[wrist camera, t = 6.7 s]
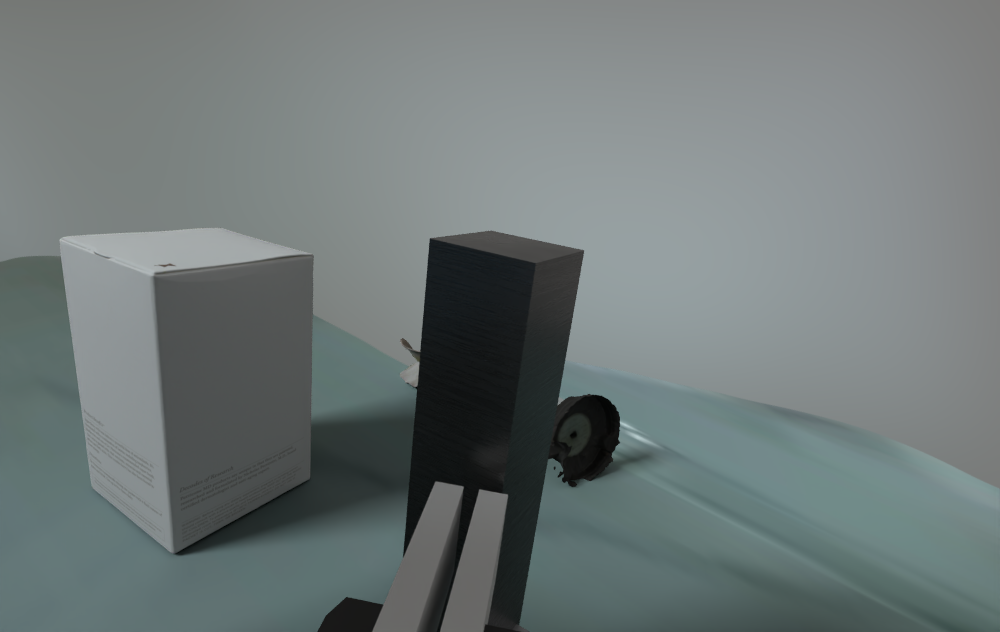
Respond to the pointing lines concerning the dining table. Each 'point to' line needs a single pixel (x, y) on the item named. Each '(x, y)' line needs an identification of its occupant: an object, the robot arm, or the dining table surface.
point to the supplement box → (191, 373)
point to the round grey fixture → (492, 388)
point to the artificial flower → (569, 430)
